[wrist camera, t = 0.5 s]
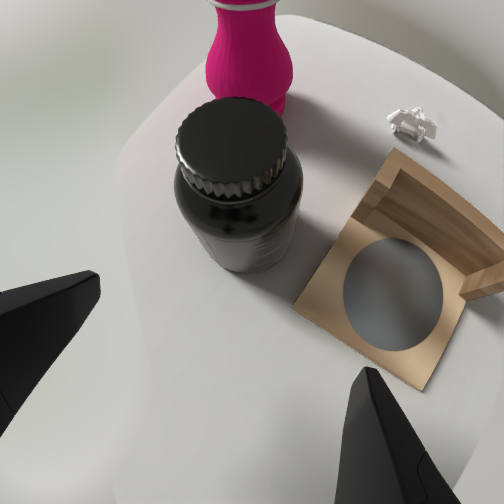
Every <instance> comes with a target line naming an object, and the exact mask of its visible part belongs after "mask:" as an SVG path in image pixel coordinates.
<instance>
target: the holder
mask: <svg viewBox="0 0 504 504" xmlns="http://www.w3.org/2000/svg"><path fill="white" fill-rule="evenodd" d="M502 291H504V233H503V232H502V231H501V230H500V229H499V228H497V227H496V226H495V225H494V224H493V223H492V222H491V221H490V220H489V219H487V218H486V217H485V216H484V215H483V214H482V213H481V212H479V211H478V210H477V209H476V208H475V207H474V206H472V205H471V204H470V203H469V202H468V201H466V200H465V199H464V198H463V197H462V196H460V195H459V194H458V193H457V192H455V191H454V190H453V189H451V188H450V187H449V186H448V185H446V184H445V183H444V182H442V181H441V180H440V179H438V178H437V177H436V176H434V175H433V174H432V173H430V172H429V171H428V170H426V169H425V168H423V167H422V166H421V165H419V164H418V163H416V162H415V161H413V160H412V159H411V158H409V157H408V156H406V155H405V154H403V153H402V152H400V151H399V150H397V149H396V148H394V147H393V149H392V151H391V152H390V154H389V155H388V157H387V159H386V160H385V162H384V163H383V165H382V167H381V168H380V170H379V171H378V173H377V174H376V176H375V178H374V179H373V181H372V182H371V184H370V185H369V187H368V188H367V190H366V192H365V193H364V195H363V196H362V198H361V200H360V201H359V203H358V205H357V206H356V208H355V210H354V211H353V213H352V215H351V216H350V218H349V220H348V221H347V223H346V224H345V226H344V228H343V229H342V231H341V232H340V234H339V236H338V237H337V239H336V240H335V242H334V244H333V245H332V247H331V248H330V250H329V251H328V253H327V255H326V256H325V258H324V259H323V261H322V262H321V264H320V265H319V267H318V269H317V270H316V272H315V273H314V275H313V276H312V278H311V279H310V281H309V282H308V284H307V285H306V287H305V288H304V290H303V291H302V293H301V294H300V296H299V297H298V299H297V300H296V302H295V303H294V305H293V306H292V307H291V308H293V309H294V310H296V311H297V312H299V313H300V314H302V315H303V316H305V317H306V318H308V319H309V320H311V321H312V322H314V323H315V324H317V325H318V326H320V327H321V328H323V329H324V330H326V331H327V332H329V333H330V334H332V335H333V336H335V337H336V338H338V339H339V340H341V341H342V342H344V343H345V344H347V345H348V346H350V347H351V348H353V349H354V350H356V351H357V352H359V353H360V354H362V355H363V356H365V357H367V358H368V359H370V360H371V361H373V362H374V363H376V364H377V365H379V366H380V367H382V368H383V369H385V370H387V371H388V372H390V373H391V374H393V375H394V376H396V377H397V378H399V379H401V380H402V381H404V382H405V383H407V384H408V385H410V386H412V387H413V388H415V389H417V390H420V391H422V390H423V388H424V386H425V384H426V383H427V381H428V379H429V377H430V376H431V374H432V372H433V370H434V368H435V367H436V365H437V363H438V361H439V359H440V357H441V355H442V353H443V351H444V349H445V347H446V345H447V343H448V341H449V339H450V337H451V335H452V333H453V330H454V328H455V326H456V324H457V322H458V319H459V317H460V315H461V312H462V310H463V308H464V305H465V303H466V301H469V300H473V299H477V298H481V297H484V296H488V295H492V294H495V293H499V292H502Z"/></svg>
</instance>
